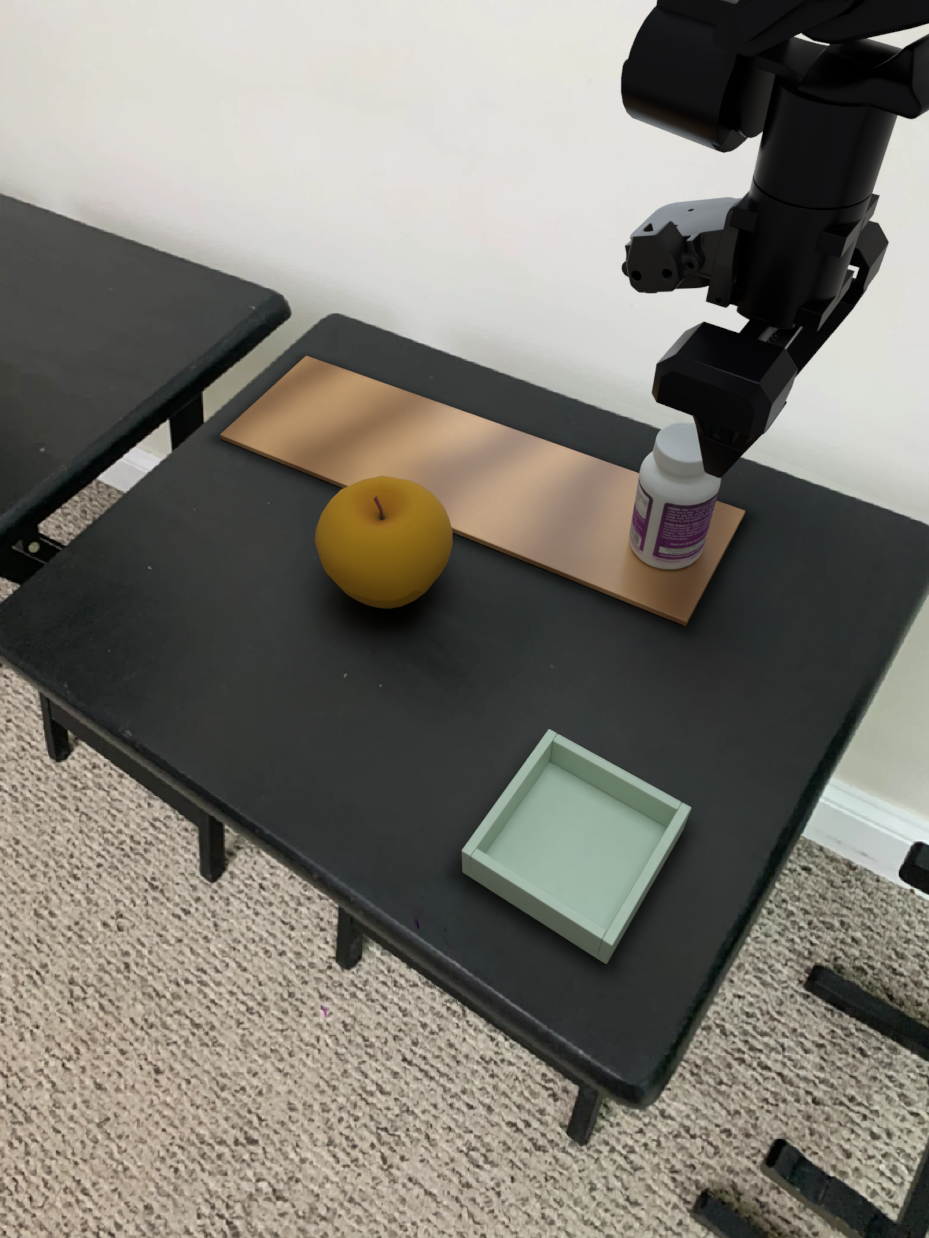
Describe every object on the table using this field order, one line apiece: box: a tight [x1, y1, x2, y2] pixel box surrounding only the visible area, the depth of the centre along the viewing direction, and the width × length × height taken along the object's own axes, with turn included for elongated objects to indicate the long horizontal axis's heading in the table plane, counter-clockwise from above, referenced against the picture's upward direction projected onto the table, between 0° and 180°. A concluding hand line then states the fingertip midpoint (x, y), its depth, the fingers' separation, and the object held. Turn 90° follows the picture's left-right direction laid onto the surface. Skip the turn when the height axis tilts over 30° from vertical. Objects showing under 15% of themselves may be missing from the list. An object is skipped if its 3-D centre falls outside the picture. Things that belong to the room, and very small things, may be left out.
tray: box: [461, 728, 692, 965], centre depth 52 cm, size 9×9×3 cm
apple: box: [314, 476, 454, 610], centre depth 61 cm, size 9×9×9 cm
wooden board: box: [219, 355, 746, 627], centre depth 72 cm, size 40×12×1 cm, turn 60°
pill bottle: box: [629, 421, 722, 569], centre depth 63 cm, size 5×5×10 cm
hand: (744, 431), depth 57 cm, fingers open, 9 cm apart
